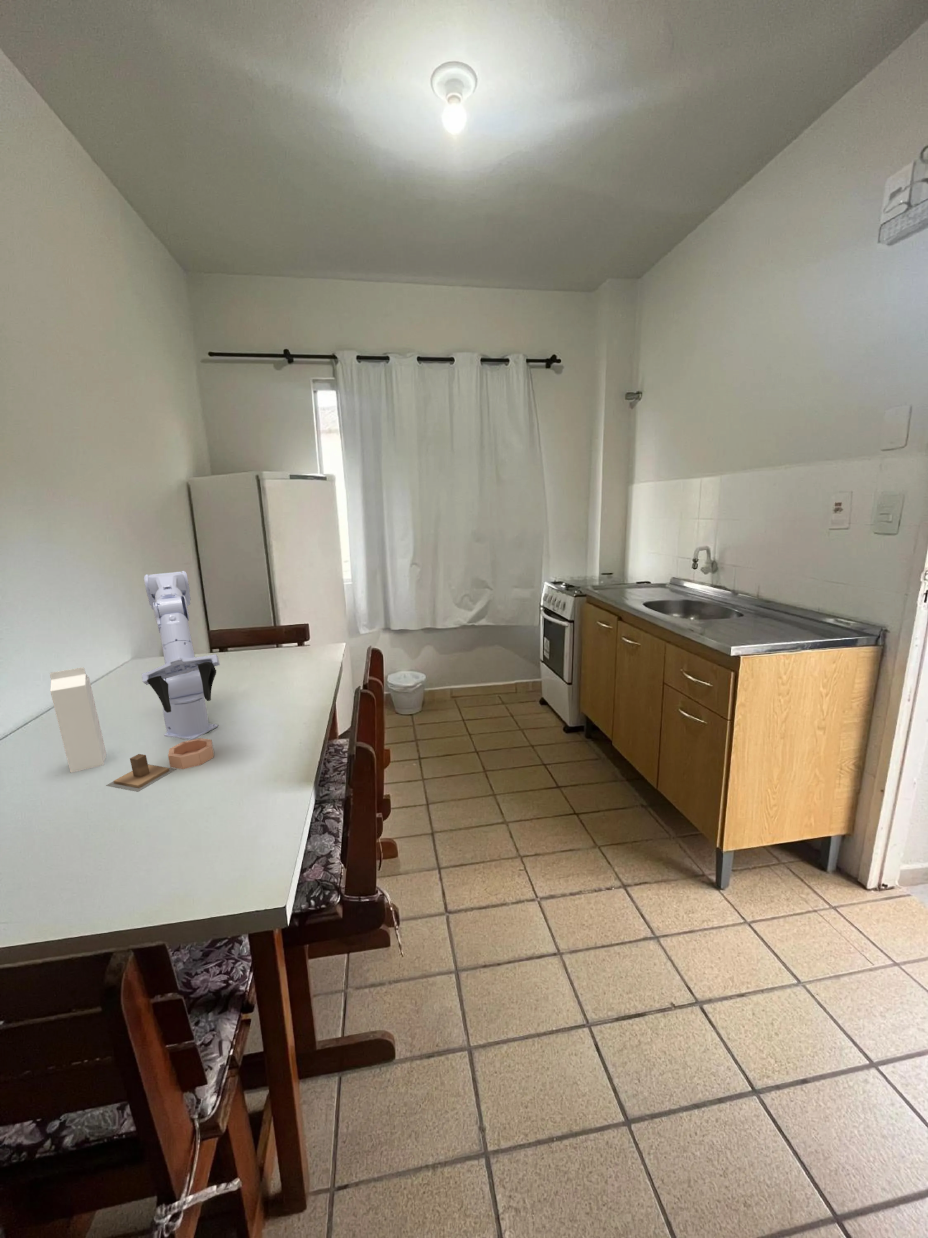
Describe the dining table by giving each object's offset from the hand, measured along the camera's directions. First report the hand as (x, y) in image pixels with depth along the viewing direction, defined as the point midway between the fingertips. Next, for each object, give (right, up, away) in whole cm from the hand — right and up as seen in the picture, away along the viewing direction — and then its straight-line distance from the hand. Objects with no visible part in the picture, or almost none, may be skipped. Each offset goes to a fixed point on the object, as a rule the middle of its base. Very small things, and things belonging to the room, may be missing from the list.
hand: (188, 705), depth 105 cm
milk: (-26, -15, +8) cm, 31 cm away
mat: (-10, -15, +1) cm, 18 cm away
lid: (-10, -15, 0) cm, 18 cm away
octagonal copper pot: (-3, -13, +7) cm, 16 cm away
